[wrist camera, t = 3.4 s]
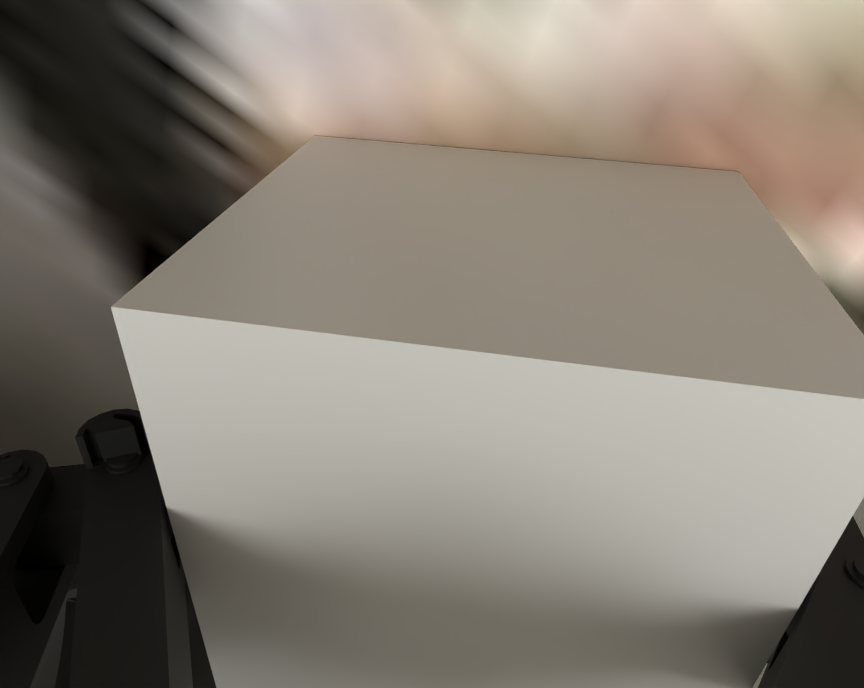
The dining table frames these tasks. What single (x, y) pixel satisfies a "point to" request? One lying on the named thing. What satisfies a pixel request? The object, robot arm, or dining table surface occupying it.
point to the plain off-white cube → (495, 422)
